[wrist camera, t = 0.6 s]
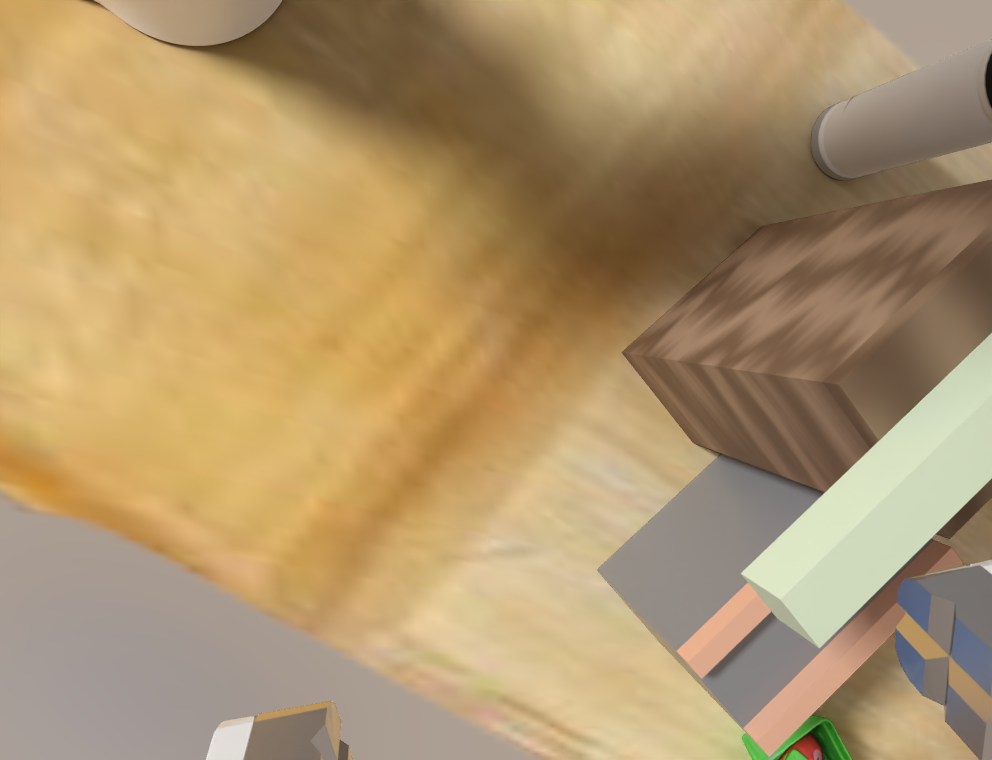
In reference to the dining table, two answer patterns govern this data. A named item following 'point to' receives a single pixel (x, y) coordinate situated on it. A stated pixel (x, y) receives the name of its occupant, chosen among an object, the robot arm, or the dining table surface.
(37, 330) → the dining table surface
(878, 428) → the walnut stand
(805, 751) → the fruit basket
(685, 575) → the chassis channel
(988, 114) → the travel mug
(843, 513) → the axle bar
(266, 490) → the dining table surface
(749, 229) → the dining table surface
